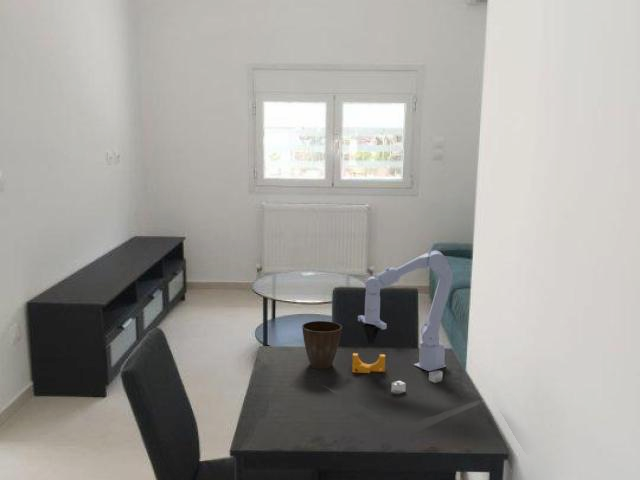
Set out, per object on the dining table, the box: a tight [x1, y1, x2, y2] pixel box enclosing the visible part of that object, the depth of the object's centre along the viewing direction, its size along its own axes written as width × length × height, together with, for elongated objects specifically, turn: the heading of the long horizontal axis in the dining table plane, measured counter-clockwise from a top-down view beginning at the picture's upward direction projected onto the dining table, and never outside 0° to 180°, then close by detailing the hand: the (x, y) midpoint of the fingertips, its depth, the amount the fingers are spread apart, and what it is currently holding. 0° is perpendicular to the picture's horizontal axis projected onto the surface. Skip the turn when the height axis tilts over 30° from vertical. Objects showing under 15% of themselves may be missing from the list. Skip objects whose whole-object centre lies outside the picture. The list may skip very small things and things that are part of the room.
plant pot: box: [301, 320, 343, 370], centre depth 225 cm, size 15×15×16 cm
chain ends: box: [390, 369, 443, 395], centre depth 209 cm, size 24×3×3 cm, turn 126°
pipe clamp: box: [351, 352, 386, 374], centre depth 221 cm, size 12×4×6 cm, turn 86°
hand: (371, 343), depth 228 cm, fingers closed
